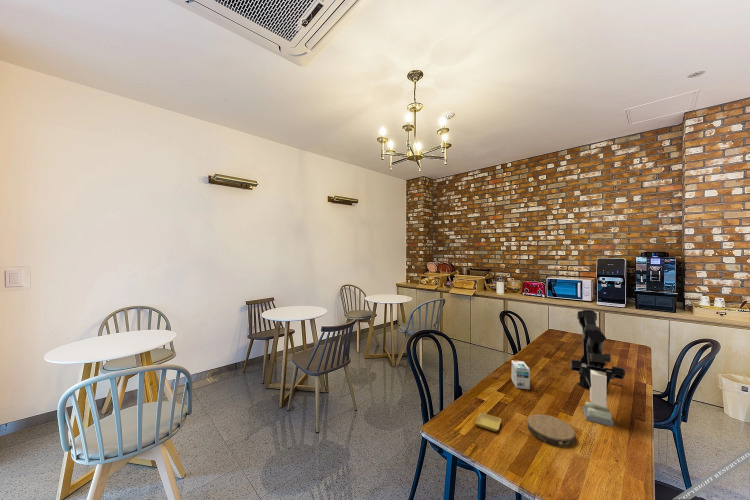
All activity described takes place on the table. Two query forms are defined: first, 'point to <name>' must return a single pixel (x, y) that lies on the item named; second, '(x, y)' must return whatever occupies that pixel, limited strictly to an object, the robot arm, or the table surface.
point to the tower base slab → (596, 419)
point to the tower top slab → (598, 411)
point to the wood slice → (551, 430)
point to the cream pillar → (598, 387)
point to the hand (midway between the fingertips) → (598, 388)
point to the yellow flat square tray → (488, 422)
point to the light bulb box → (520, 374)
